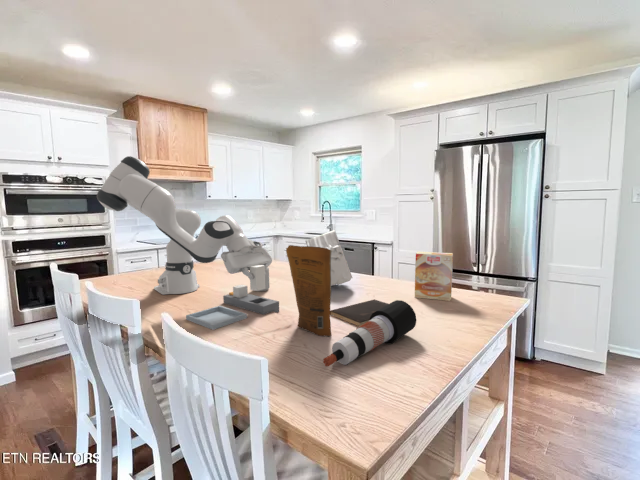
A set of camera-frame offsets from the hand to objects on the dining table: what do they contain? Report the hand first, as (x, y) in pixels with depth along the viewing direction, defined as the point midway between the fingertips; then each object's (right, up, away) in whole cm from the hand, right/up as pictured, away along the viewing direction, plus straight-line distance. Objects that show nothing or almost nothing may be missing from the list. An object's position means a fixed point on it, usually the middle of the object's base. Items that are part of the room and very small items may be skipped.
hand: (258, 277), depth 129 cm
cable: (+37, -17, -33) cm, 53 cm away
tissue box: (+27, -9, +40) cm, 49 cm away
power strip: (-4, -13, +5) cm, 15 cm away
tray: (-13, -15, -9) cm, 22 cm away
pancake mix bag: (+21, -16, -18) cm, 32 cm away
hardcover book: (+41, -14, -2) cm, 44 cm away
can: (-5, -10, +34) cm, 35 cm away
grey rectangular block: (0, -5, +1) cm, 5 cm away
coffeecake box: (+73, -11, +18) cm, 76 cm away
